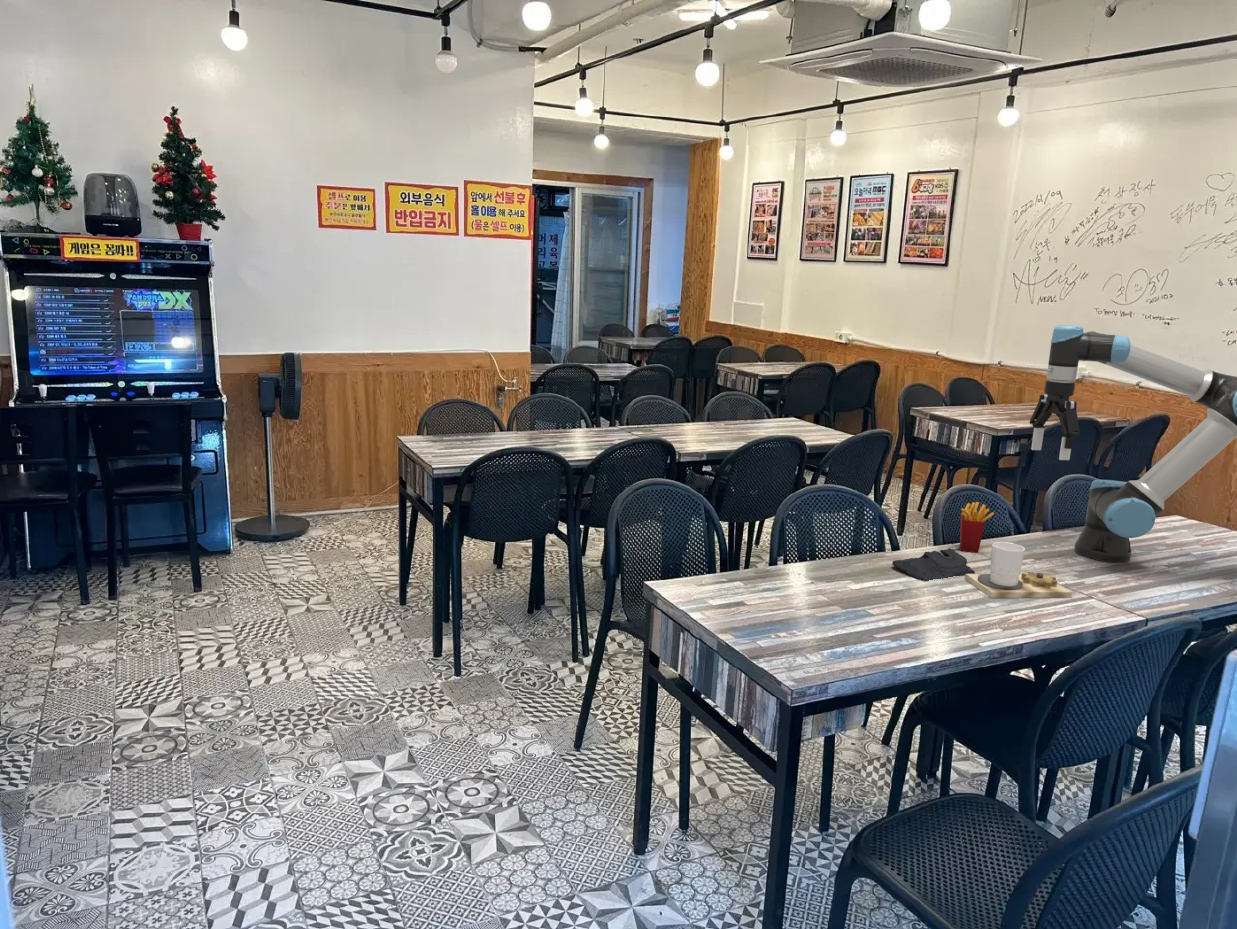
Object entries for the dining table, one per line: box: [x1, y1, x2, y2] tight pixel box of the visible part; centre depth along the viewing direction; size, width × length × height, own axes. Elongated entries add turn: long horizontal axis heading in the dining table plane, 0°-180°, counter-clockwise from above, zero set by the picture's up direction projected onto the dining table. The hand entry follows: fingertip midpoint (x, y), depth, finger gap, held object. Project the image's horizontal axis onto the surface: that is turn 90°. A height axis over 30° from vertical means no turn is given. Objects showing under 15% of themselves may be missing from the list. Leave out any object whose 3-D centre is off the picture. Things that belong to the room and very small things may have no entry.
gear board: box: [964, 571, 1073, 599], centre depth 232 cm, size 22×14×4 cm, turn 96°
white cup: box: [989, 541, 1026, 587], centre depth 229 cm, size 8×8×10 cm
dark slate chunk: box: [892, 547, 976, 582], centre depth 245 cm, size 15×22×5 cm
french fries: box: [959, 501, 995, 554], centre depth 263 cm, size 9×8×15 cm
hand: (1049, 454), depth 250 cm, fingers open, 13 cm apart
